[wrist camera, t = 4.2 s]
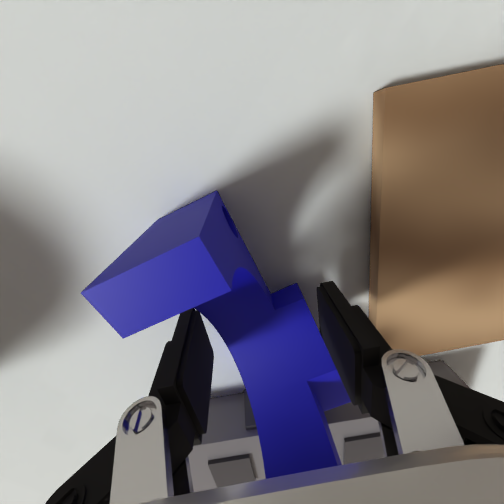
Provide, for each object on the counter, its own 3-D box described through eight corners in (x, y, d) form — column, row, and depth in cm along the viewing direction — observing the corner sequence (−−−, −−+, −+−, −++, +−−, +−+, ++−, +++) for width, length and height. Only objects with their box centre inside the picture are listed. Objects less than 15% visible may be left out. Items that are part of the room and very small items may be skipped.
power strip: (195, 450, 18) (186, 515, 15) (172, 396, 16) (156, 461, 13) (424, 412, 18) (466, 469, 15) (439, 352, 16) (492, 406, 13)
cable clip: (329, 355, 15) (385, 474, 10) (264, 380, 15) (281, 508, 10) (248, 174, 10) (264, 205, 5) (158, 219, 11) (80, 292, 5)
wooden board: (373, 92, 9) (385, 87, 9) (579, 51, 9) (608, 42, 8) (367, 353, 15) (374, 364, 14) (494, 329, 15) (508, 338, 14)
